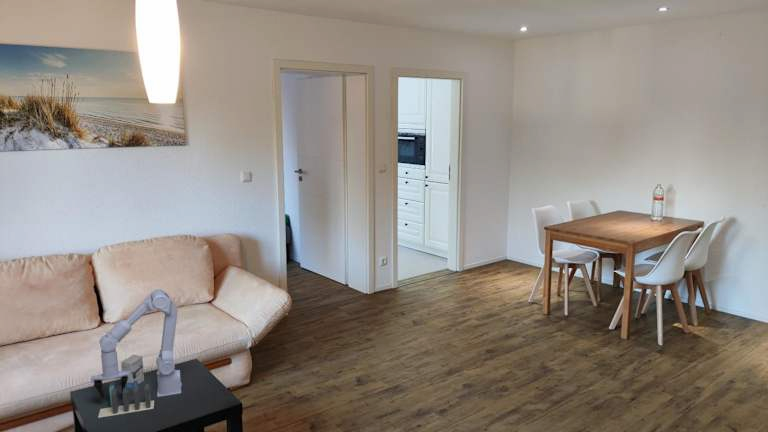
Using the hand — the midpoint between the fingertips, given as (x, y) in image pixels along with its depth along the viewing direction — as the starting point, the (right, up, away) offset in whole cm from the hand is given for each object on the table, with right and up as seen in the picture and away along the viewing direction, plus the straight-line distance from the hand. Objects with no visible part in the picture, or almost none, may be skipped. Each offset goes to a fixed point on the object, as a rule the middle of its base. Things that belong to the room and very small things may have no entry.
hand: (112, 395), depth 228 cm
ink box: (+1, -1, +18) cm, 18 cm away
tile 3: (+8, -4, -4) cm, 10 cm away
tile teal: (0, -3, +1) cm, 4 cm away
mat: (+8, -4, -4) cm, 10 cm away
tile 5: (+15, -3, -1) cm, 16 cm away
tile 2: (+4, -4, -5) cm, 8 cm away
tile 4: (+11, -4, -3) cm, 12 cm away
